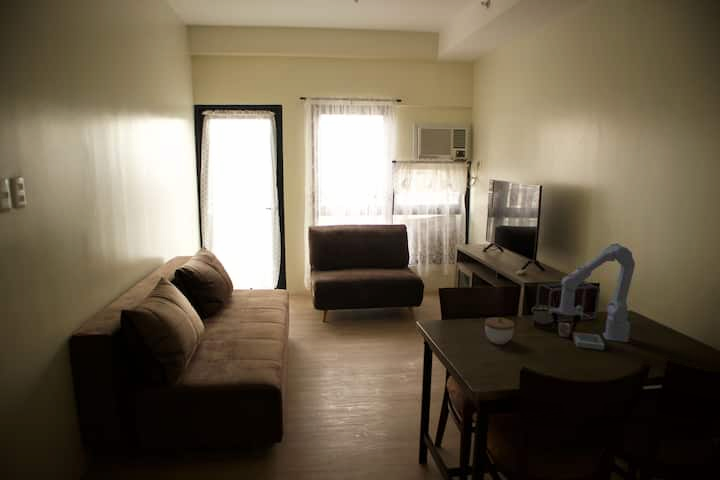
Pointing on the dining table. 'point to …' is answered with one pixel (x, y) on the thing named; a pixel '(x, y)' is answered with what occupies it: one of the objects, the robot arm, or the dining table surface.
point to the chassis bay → (588, 341)
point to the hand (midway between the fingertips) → (564, 329)
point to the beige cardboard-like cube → (564, 329)
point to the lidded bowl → (499, 330)
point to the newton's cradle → (578, 308)
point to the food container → (542, 317)
